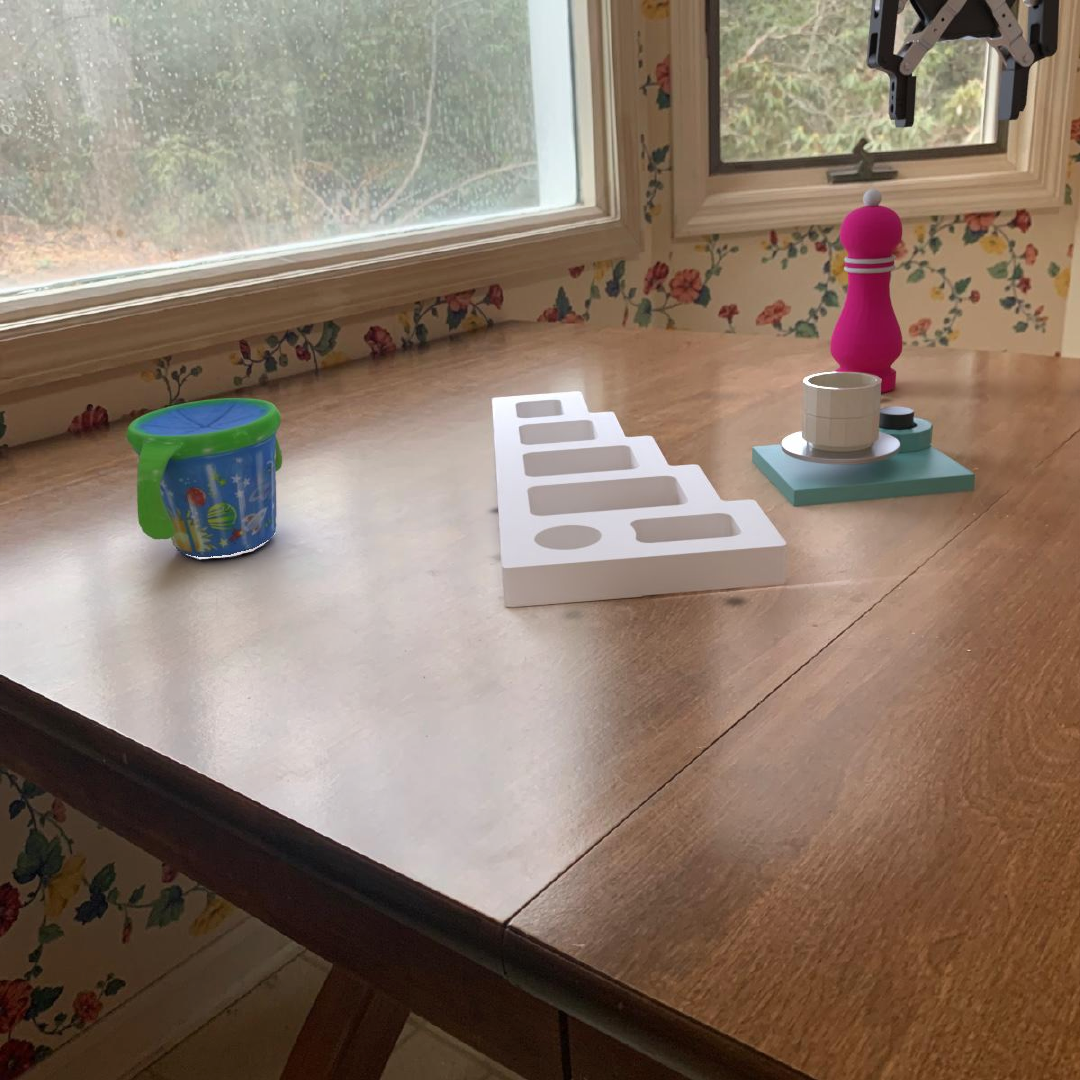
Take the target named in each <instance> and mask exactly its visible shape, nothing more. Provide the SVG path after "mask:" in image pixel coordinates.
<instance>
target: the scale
mask: <svg viewBox="0 0 1080 1080" xmlns="http://www.w3.org/2000/svg"><path fill="white" fill-rule="evenodd" d="M933 429H934V425H933V423H932V422H931V421H929V420H927V419H925V418H921V417H917V416H916V417H915V416H914V426H913V428H912V429H907V430H887V429H882V428H879V432H883V433H886V434H889V435H891V436H893V437H895V438H896V439H898V440H899V442H900V450H899V452H898V453H897V454H896V455H894V456H892V457H890V458H888V459H885V460H881V461H876V462H871V463H863V464H849V465H836V464H821V463H813V462H808V461H803V460H799V459H796V458H793V457H791V456H789V455H787V454H785V453H784V452H783V451H782V448H781V443H779V444H767V445H756V446H752V447H751V462H752V463H753V464H754V465H755V467H757V469H758V470H759V471H760V472H761V473H762V474H763V475H764V476H765V477H766V478H767V479H768V480H769V481H770V483H771V484H772V485H773V486H774V487H775V488H776V490H778V491H779V492H780V493H781V495H783V496H784V498H785V499H786V500H787V501H788V502H789V503H790V504H791V505H792V506H793V507H795V508H796V507H806V506H815V505H827V504H828V505H829V504H837V503H839V504H840V503H851V502H859V501H860V502H861V501H872V500H883V499H894V498H895V499H896V498H904V497H915V496H917V497H918V496H927V495H939V494H949V493H959V492H971V491H974V490H975V479H976V474H975V473H974V472H973V471H971V470H969V469H968V468H966V467H965V466H964V465H962V464H961V463H959V462H958V461H956V460H954V459H952V458H951V457H949V456H948V455H946V454H945V453H944V452H942V451H940V450H939V449H937V448H936V447H935V446H933V445H931V444H932V442H933Z"/></svg>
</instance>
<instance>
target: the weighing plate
mask: <svg viewBox="0 0 1080 1080" xmlns="http://www.w3.org/2000/svg"><path fill="white" fill-rule="evenodd" d="M801 435H802V430H801V431H796V432H794V433H791V434H789V435H786V436H785V437H784V438H783V439H782V441H781V443H780V444H781V448H782V451H783V452H784V453H785V454H787V455H789V456H791V457H793V458H796V459H799V460H803V461H808V462H813V463H821V464H836V465H849V464H863V463H871V462H876V461H881V460H885V459H888V458H890V457H892V456H894V455H896V454H897V453H898V452H899V450H900V442H899V440H898V439H896V438H895V437H893V436H891V435H889V434H886V433H883V432H879V438H878V440H876V441H874V442H873V445H872V446H871V447H869V448H866V449H863V450H858V451H851V452H831V451H823V450H818V449H815V448H812V447H810V446H809V445H808V444H807V441H805V440H804V439H803V438H802V437H801Z"/></svg>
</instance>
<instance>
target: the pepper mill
mask: <svg viewBox="0 0 1080 1080" xmlns="http://www.w3.org/2000/svg"><path fill="white" fill-rule="evenodd" d="M882 196H883V195H882V193H881V192H880V191H879V190H878V189H876V188H872V189H868V190H866V192H865V193H864V194H863V198H862V202H863V204H864V205H863V206H860V207H857V208H855V209H853V210H852V211H850V212H849V213H848V214H846V216H845V217H844V219H843V221H842V223H841V226H840V230H839V240H840V244H841V246H842V247H843V248H844V250H845V251H846V252H847V256H844V259H843V261H844V262H845V263H844V265H845V266H844V267H843V270H844V271H845V272H846V273H847V289H846V290H847V291H846V297H845V301H844V305H843V307H842V310H841V312H840V314H839V317H838V319H837V321H836V323H835V325H834V328H833V330H832V334H831V338H830V346H829V352H830V355H831V357H832V358H833V359H834V361H835V362H836V363H837V364H838V365H839V367H838V368H836V369H835V370H834V372H859V373H867V374H871V375H875V376H877V377H879V378H881V379H882V380H881V394H882V393H887V392H891V391H893V390H894V389H895V388H896V385H897V383H896V382H897V371H896V369H895V368H893V367H891V366H892V365H893V364H894V363H895V361H897V360H898V359H899V357H900V356H901V353H902V352H903V335H902V329H901V326H900V324H899V321H898V318H897V315H896V313H895V310H894V307H893V304H892V299H891V289H890V287H891V286H890V285H891V275H892V271H894V270H895V269H896V265H895V260H897V257H896V255H894V254H893V252H894V250H896V248H897V246H899V244H900V243H901V240H902V238H903V225H902V224H903V223H902V220H901V217H900V216H899V215H898V213H897V212H896V211H895V210H893V209H891V208H890V207H888V206H884V205H880V204H881V203H882V199H883V197H882Z"/></svg>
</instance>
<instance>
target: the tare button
mask: <svg viewBox="0 0 1080 1080" xmlns="http://www.w3.org/2000/svg"><path fill="white" fill-rule="evenodd" d="M914 417H915V410H914V408H912V407H907V406H899V405H896V406H895V405H894V406H893V405H892V406H884V407H880V421H879V428H882V429H887V430H907V429H912V428H913V426H914Z"/></svg>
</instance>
